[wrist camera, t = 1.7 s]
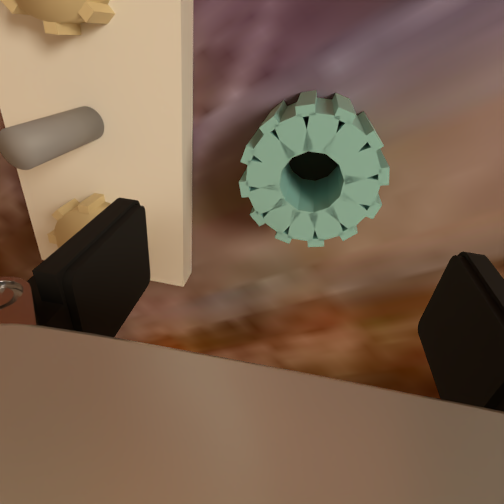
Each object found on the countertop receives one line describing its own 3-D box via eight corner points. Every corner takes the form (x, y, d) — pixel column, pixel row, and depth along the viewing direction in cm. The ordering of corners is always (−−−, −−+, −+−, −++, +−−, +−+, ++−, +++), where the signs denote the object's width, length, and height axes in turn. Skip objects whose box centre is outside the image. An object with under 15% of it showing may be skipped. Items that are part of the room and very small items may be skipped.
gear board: (193, -120, 16) (104, -228, 10) (191, 272, 29) (151, 343, 22) (-35, -137, 18) (-257, -246, 11) (57, 247, 30) (-20, 307, 23)
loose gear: (392, 100, 20) (411, 116, 16) (357, 218, 24) (365, 257, 20) (261, 82, 20) (245, 94, 16) (249, 200, 25) (234, 234, 20)
